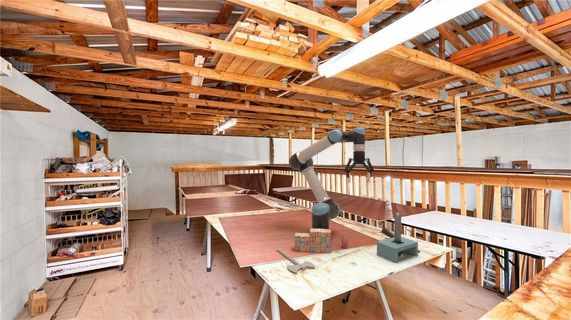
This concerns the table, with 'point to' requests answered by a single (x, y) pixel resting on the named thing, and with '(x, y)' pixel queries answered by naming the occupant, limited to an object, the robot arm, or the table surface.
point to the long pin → (397, 229)
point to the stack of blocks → (314, 241)
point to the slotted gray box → (389, 233)
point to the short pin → (344, 242)
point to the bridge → (396, 248)
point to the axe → (298, 266)
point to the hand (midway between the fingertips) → (358, 182)
